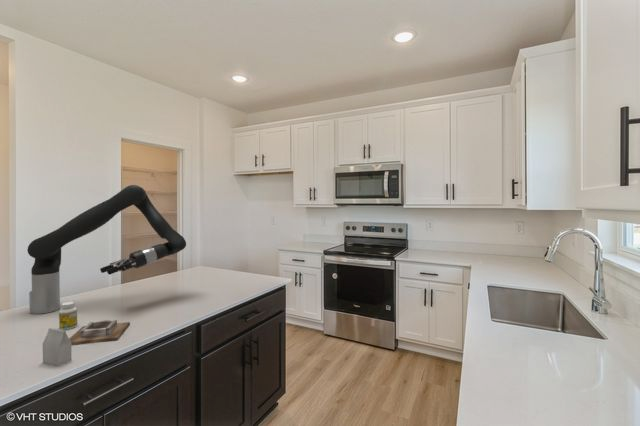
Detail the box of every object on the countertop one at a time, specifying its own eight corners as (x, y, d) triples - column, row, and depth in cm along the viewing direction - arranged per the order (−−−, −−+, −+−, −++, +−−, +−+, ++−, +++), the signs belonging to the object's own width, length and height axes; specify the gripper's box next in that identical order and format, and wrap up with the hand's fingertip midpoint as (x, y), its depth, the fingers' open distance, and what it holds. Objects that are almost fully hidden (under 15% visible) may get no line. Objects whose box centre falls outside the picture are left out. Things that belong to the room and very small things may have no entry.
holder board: (64, 345, 102) (64, 335, 102) (83, 328, 116) (82, 319, 116) (117, 340, 107) (117, 330, 107) (129, 324, 121) (129, 316, 120)
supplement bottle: (80, 325, 119) (80, 302, 118) (65, 331, 114) (65, 306, 113) (71, 323, 120) (70, 300, 120) (55, 329, 115) (55, 304, 115)
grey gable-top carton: (58, 366, 90) (57, 333, 90) (42, 362, 92) (42, 330, 92) (71, 360, 94) (71, 329, 93) (56, 356, 96) (55, 326, 95)
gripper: (134, 249, 143) (95, 262, 131) (147, 250, 134) (107, 264, 122) (139, 263, 144) (101, 278, 132) (152, 265, 136) (113, 281, 123)
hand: (104, 271), depth 127 cm, fingers open, 8 cm apart
